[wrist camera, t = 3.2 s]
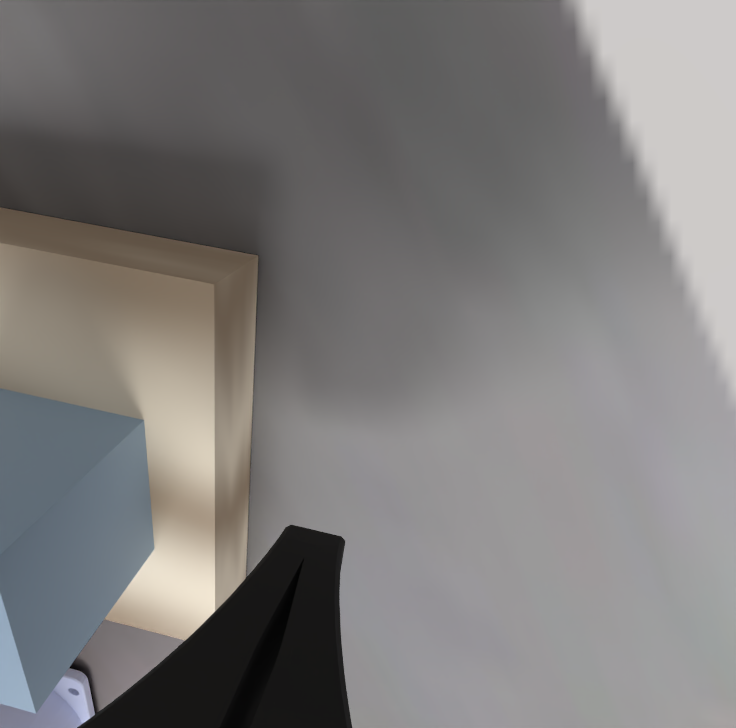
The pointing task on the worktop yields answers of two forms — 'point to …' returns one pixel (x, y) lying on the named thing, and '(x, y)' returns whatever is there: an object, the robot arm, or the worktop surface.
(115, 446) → the block
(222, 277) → the board
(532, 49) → the worktop surface
